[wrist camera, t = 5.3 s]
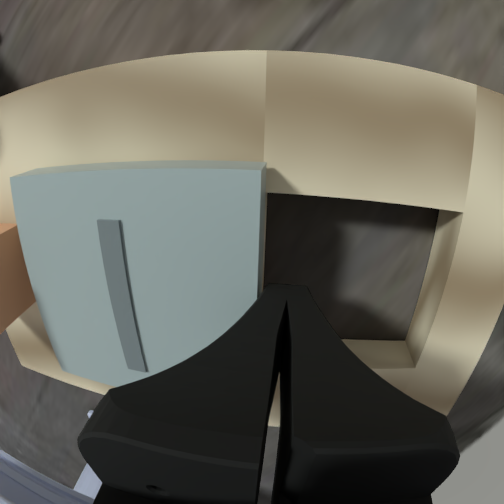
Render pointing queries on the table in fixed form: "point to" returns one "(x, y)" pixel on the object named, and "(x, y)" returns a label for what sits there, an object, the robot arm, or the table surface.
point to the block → (13, 277)
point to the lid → (140, 259)
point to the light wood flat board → (299, 173)
